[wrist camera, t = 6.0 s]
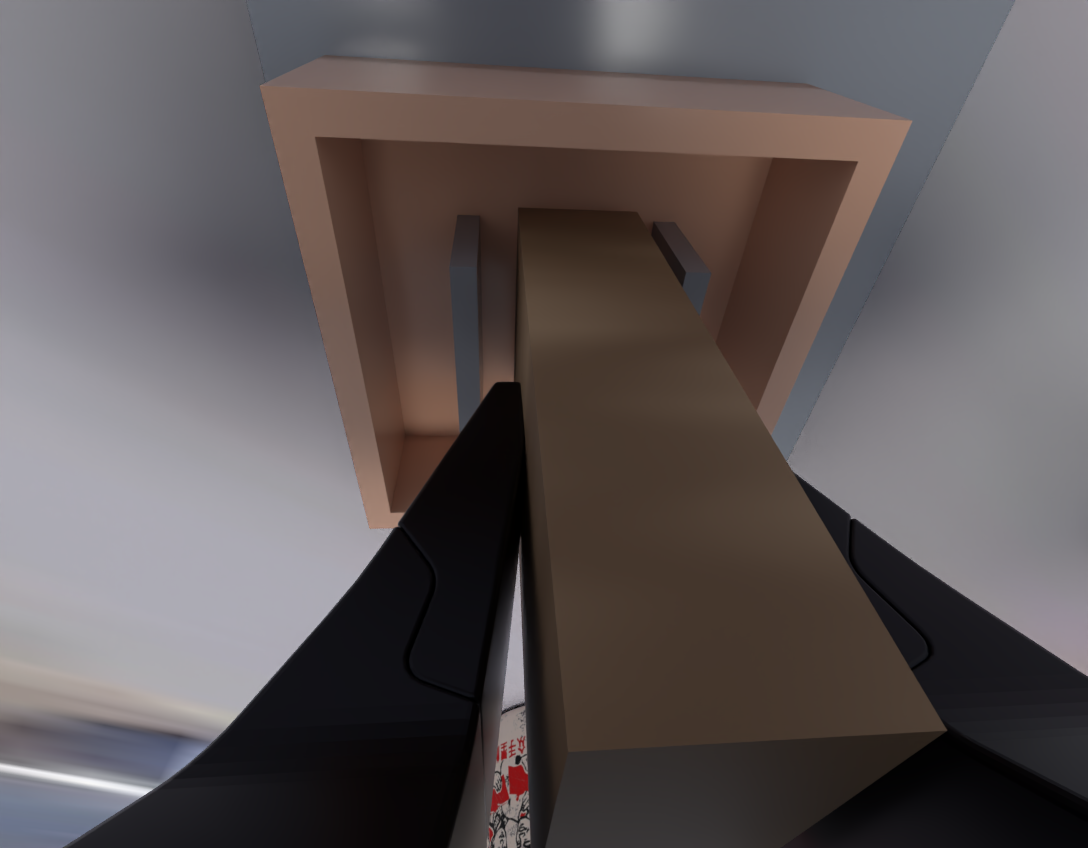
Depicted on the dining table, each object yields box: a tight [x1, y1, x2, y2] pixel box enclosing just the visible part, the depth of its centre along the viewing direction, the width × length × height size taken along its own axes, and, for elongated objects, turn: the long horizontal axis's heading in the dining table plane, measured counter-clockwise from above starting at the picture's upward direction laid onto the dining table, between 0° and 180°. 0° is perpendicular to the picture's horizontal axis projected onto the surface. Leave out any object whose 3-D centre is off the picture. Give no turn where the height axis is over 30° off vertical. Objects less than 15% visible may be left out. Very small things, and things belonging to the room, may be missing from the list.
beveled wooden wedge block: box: [514, 207, 947, 848], centre depth 7 cm, size 2×4×8 cm, turn 177°
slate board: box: [246, 0, 1015, 461], centre depth 12 cm, size 12×14×1 cm
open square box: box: [260, 55, 912, 529], centre depth 10 cm, size 8×8×3 cm
